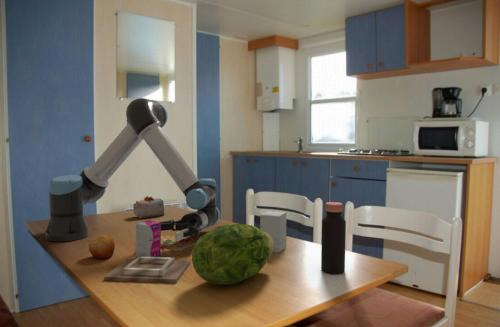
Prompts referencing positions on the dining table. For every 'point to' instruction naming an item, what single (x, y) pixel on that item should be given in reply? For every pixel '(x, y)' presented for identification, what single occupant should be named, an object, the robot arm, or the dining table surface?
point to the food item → (149, 207)
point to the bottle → (333, 239)
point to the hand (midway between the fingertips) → (159, 234)
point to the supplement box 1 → (148, 239)
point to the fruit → (102, 246)
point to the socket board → (149, 270)
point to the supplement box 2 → (275, 228)
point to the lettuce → (231, 253)
